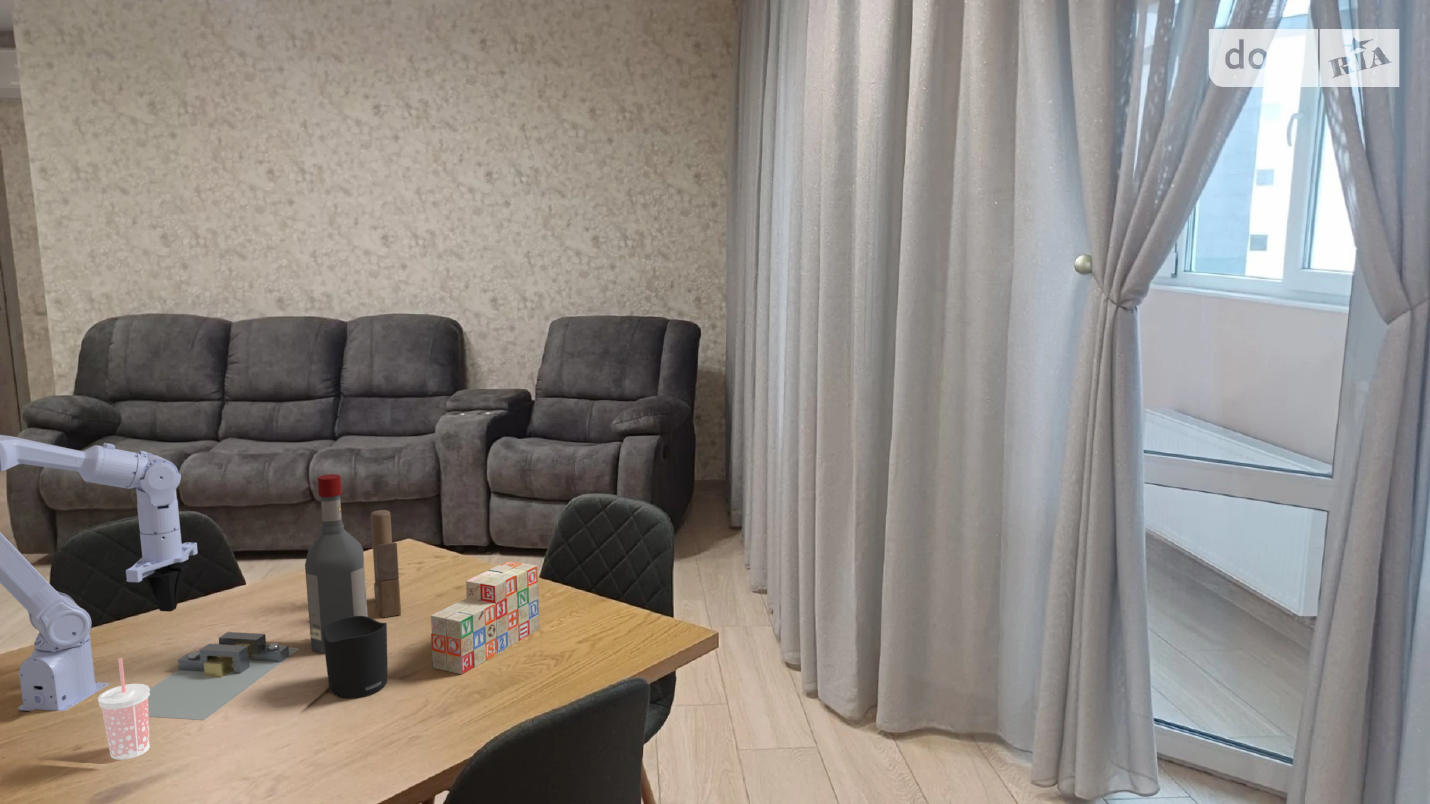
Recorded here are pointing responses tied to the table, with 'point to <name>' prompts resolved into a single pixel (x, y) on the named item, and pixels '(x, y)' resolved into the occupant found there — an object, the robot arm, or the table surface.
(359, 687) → the pen holder
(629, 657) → the table surface
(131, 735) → the beverage cup
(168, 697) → the mat
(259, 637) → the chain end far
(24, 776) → the table surface
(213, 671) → the link bar
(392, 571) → the wooden block
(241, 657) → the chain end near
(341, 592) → the liquor
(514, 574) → the stack of blocks
